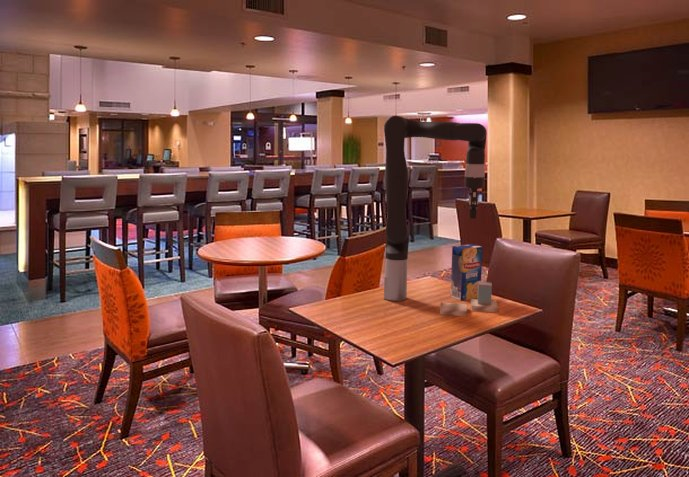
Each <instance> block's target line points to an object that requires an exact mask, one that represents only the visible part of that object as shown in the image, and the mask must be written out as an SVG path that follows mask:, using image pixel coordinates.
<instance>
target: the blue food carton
mask: <svg viewBox="0 0 689 477" xmlns="http://www.w3.org/2000/svg"><path fill="white" fill-rule="evenodd" d="M451 246H452V245H451ZM451 248H452V249H451V251H452V252H451V270H450V271H451V273H450V274H451V275H450V289H449V290H450V292H449V293H450V295H449V296H450V298H453V299H456V300H458V301H466V300H471V299H478V282H482V270H483V269H482V268H483V266H482V265H483V251H484V250H483V249H484V247H483V246H481V245H478V244H471V243H470V244H469V243H468V244H460V245H453V246H452V247H451Z"/></svg>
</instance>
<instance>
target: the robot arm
mask: <svg viewBox="0 0 689 477" xmlns="http://www.w3.org/2000/svg"><path fill="white" fill-rule="evenodd" d="M383 126H384V127H383V132H384V141H385V174H384V175H385V182H384V183H385V196H386V197H385V198H386V206H387V207H386V208H387V210H386V211H387V213H386V214H387V215H386V224H385V225H386V226H385V236H386V246H385V265H384V266H385V267H384V276H383V278H384V279H383V280H384V281H383V300H388V301H394V302H401V301H404V300H407V295H408V294H407V293H408V292H407V288H408V257H409V237H410V236H409V235H410V228H409V225H408V224H407V219H406V216H407V215H406V207H407V200H408V195H409V194H408V192H409V171H408V170H409V169H408V165H407V161H406V160H407V159H406V155H405V139H408V138H425V139H426V138H427V139H433V140H442V141H463V142H468V144H467V146H468V147H467V151H466V159H465V160H466V161H465V168H464V188H465V189H470V190H469V192H468V205H469V219H474V220H475V219H476V218H477V209H478V204H479V198H480V193H479V192H478V189H480V190H481V189H484V188H485V179H486V178H485V176H486V168H485V166H486V165H485V164H486V163H485V162H486V144H487V137H488V136H487V134H488V132H487V129H486V127H485V126H484V125H482V124H480V123H477V122H475V123H474V122H465V123H464V122H462V123H461V122H457V121H456V122H453V121H420V120H413V119H409V118H404V117H403V116H400V115H391V116H389V117H387V119H386V120H385V123H384V125H383Z"/></svg>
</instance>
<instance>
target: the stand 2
mask: <svg viewBox="0 0 689 477" xmlns="http://www.w3.org/2000/svg"><path fill="white" fill-rule="evenodd" d="M477 299H478V298H473V299H470V310H471V312H489V313H499V306H498V302H497V300H495V299H494V300H493V299H491V305H483V304H478V301H477Z"/></svg>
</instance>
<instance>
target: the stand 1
mask: <svg viewBox="0 0 689 477" xmlns="http://www.w3.org/2000/svg"><path fill="white" fill-rule="evenodd" d="M439 307H440V308H439V315H443V316H444V315H445V316H457V317H459V316H460V317H467V315H468V307H467V303H459V302H458V303H456V302H455V303H454V302H443V301H441V302H440V306H439Z"/></svg>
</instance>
